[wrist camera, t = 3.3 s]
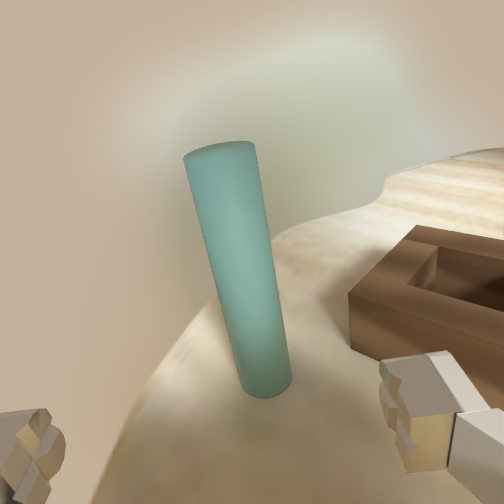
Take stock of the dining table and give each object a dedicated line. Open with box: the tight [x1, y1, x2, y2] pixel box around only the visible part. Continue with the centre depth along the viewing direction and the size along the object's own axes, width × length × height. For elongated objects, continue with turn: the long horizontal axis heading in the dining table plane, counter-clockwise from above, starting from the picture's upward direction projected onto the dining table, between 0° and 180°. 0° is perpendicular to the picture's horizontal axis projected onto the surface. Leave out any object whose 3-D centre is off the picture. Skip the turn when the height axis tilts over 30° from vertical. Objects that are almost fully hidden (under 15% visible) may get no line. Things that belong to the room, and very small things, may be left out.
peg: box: [183, 141, 292, 398], centre depth 22 cm, size 4×4×16 cm
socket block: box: [348, 225, 504, 411], centre depth 26 cm, size 11×11×5 cm
